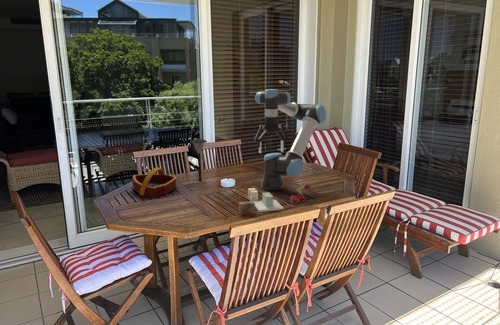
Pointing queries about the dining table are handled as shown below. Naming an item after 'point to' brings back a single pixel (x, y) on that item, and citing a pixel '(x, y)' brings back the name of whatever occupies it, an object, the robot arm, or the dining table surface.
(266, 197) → the sage brick
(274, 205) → the grey plate
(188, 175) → the dining table surface
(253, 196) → the birch brick
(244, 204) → the walnut brick
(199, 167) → the solar garden light
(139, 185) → the decorative basket
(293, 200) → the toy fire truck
